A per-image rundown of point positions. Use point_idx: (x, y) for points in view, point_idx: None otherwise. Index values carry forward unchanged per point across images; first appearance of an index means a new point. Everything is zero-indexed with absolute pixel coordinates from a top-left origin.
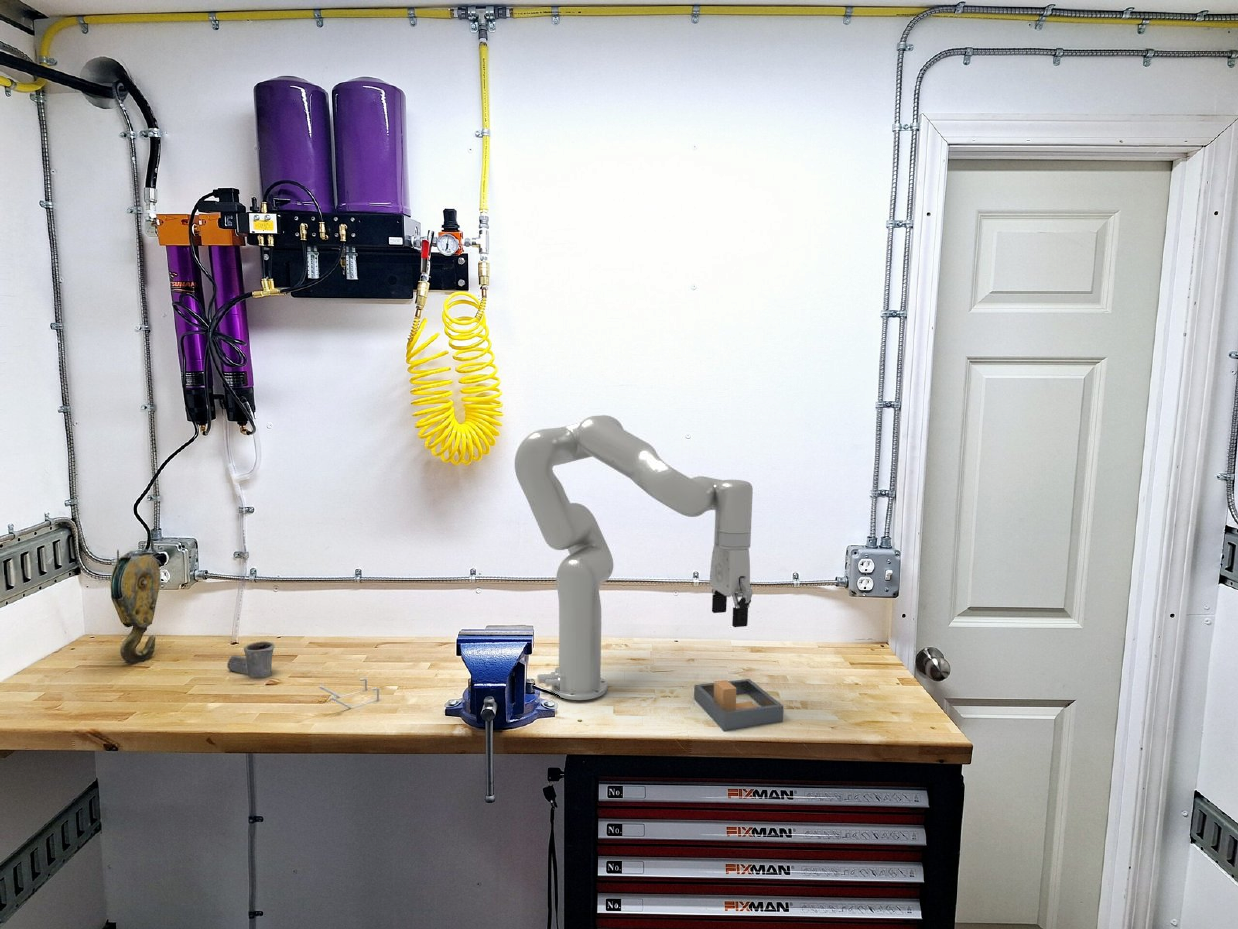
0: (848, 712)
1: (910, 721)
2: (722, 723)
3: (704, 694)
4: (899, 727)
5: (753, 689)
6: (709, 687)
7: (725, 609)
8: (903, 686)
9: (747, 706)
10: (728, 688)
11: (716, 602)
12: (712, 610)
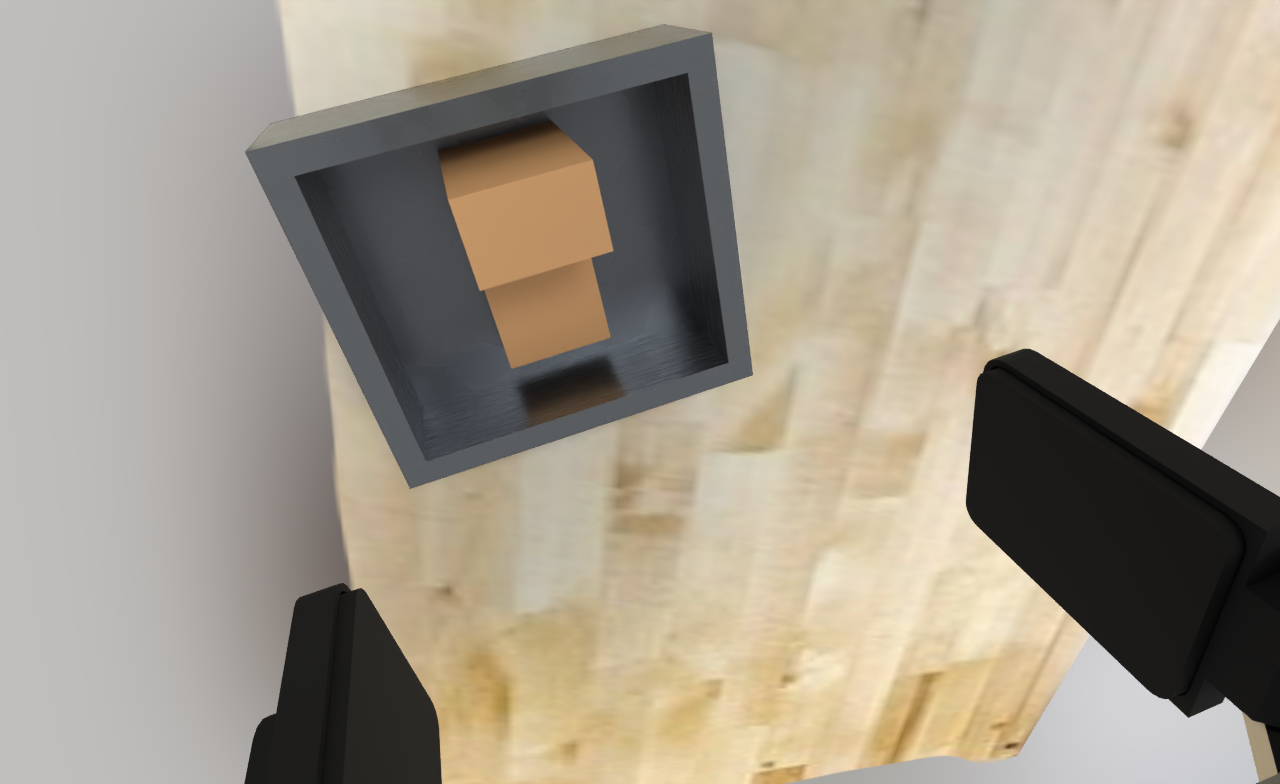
0: (575, 644)
1: (506, 779)
2: (278, 131)
3: (555, 72)
4: (460, 755)
5: (659, 374)
6: (693, 136)
7: (989, 528)
8: (747, 774)
9: (555, 313)
10: (473, 238)
11: (1103, 490)
12: (1028, 362)
